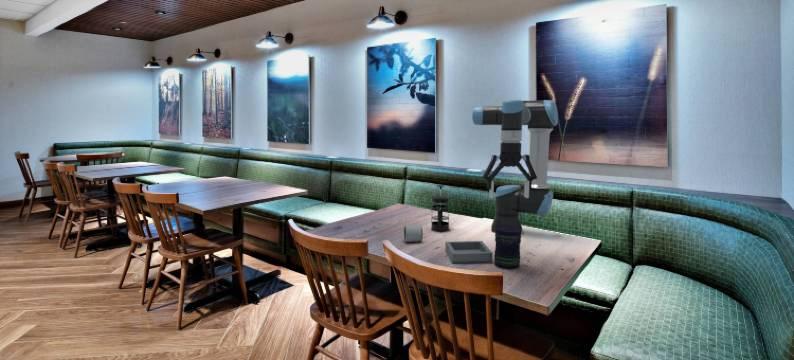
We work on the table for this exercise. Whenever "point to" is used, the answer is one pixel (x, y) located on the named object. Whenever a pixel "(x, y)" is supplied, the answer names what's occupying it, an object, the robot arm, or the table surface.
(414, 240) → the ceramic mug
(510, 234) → the storage jar
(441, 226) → the french press
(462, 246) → the tray
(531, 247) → the table surface
